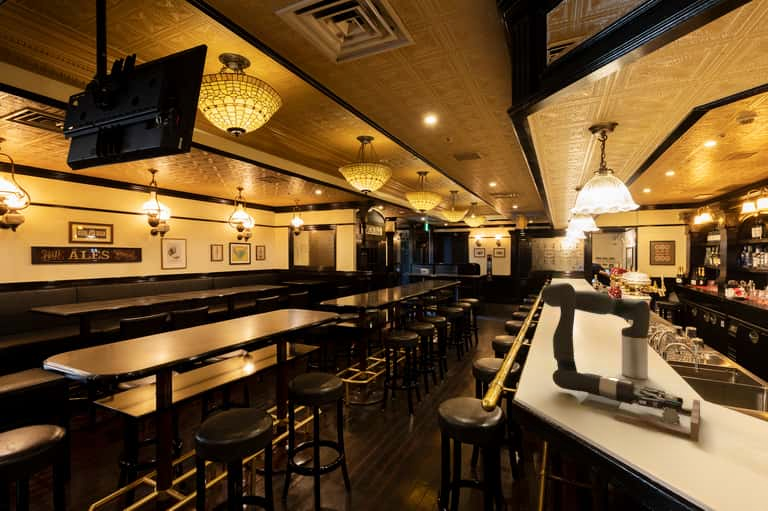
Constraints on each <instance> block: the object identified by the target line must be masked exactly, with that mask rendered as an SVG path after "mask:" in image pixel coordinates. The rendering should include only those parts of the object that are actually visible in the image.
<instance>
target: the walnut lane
mask: <svg viewBox="0 0 768 511" xmlns="http://www.w3.org/2000/svg"><path fill="white" fill-rule="evenodd" d="M634 403H637V404H639V402H638V401H636V400H634ZM691 406H692V407H691V408H692V409H691V408H688V407H687V408H686V407H683V406H682V410H676V411H677V413H678V412H681V413H680V414H682V413H684V415H687V414H689V415H688V416H690V421H689V423H690V424H689V425H690V426H689V427H690V431H688V430H684V429H681V428H676V427H672V426H669V425H665V424H662V423H659V422H654V421H649V420H647V419H644V418H643V419H642V418H639V417H635V416H631V415H628V414H623V413H620V412H616V411H615V414H614V419H615V420H618V421H623V422H625V423H629V424H632V425H633V424H634V425H636V426H637V425H638V426H641V427H644V428H648V429H652V430H655V431H659V432H662V433H665V434H669V435H673V436H676V437H679V438H684V439H687V440H690V441H695V442H699V435H700V434H699V433H700V425H701V424H700V422H701V400H698V399H695V398H694V399H693V400H692V405H691ZM662 408H663V407H662Z"/></svg>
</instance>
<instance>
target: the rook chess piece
mask: <svg viewBox="0 0 768 511" xmlns="http://www.w3.org/2000/svg"><path fill="white" fill-rule="evenodd" d="M670 395H671V396H670ZM676 397H677V396H676V395H673V394H672V393H671V394H670V393H666V396H665V397H664V398H665V399H666V400H671V401H675V402H676V401H677V399H676ZM661 415H662V416H661V418H662V420H663V419H664V420H663V421H664V422H666V421H667V423H669V422H670V423H671V424H674V423H677V424H679V423H681V420H680V416H679V415H678V412H677V411H676V409H672V408H667V407H666V408H665V409H664V411H663V412H662V413H661ZM670 423H669V424H670Z"/></svg>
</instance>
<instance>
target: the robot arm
mask: <svg viewBox="0 0 768 511" xmlns="http://www.w3.org/2000/svg"><path fill="white" fill-rule="evenodd" d="M540 297H541V299H542V301H543V302H544V303H545V304H546V305H547V306H549V307H552V308H560V317H559V320H558V323H557V326H556V328H555V331H554V332H553V337H552V347H553V348H552V350H553V359H555V361H556V364H557V365H556V366H557V369H556V370H555V371H553V373H552V380H553V382H554V384H555V385H556V386H558V388H561V389H563V390H568V391H574V392H582V393H587V394H589V393H590V394H593V395H597V396H601V397H604V398H607V399H611V400H615V401H619V402H621V403H623V404H628V405H633V404H634V403H635V402H634V400H636V401H638V402H639V403H638V406H641V407H646V408H653V409H659V410H663V409H662V407H663V408H666V407H667V408H672V409H676V410H682V407H683V405H684V398H683V397H680V396H676V399H677V401H676V402H675V401H671V400H666V399H665V398H664V397H665V396H666V394H667V393H666V391H664V390H661V389H657V388H653V387H651V386H648V385H645V386H644V387H641V388H640V387H636V385H635V382H634V381H633V380H627V379H623V378H617V377H613V376H605V375H599V374H595V373H588V372H586V373H585V372H584V373H582V372H578V369H577V364H576V361H575V354H574V353H575V349H574V324H575V313H576V310H578V311H581V312H586V313H590V314H596V315H603V316H604V315H612V316H615V317H618V318H621V319H624V320H629V321H632V323H631V326H627V327H623V328H621V374H622V376H626V377H628V378H631V379H638V380H647V379H648V377H649V375H648V374H649V360H648V359H649V349H648V348H649V347H648V346H649V344H648V342H649V341H648V337H649V331H650V323H651V322H650V321H651V308H650V304H649V303H648V302H647V301H646V300H641V299H635V298H618V297H617V298H616V297H612V296H610V295H608V294H607V293H605V292H600V291H595V290H576V289H575V287H574V286H573V285H572V284H570V283H569V282H559V283H552V284H548V285H546V286H545V287H543V289H542V290H541V294H540ZM669 395H670V396H671V394H669Z"/></svg>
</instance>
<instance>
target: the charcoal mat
mask: <svg viewBox="0 0 768 511" xmlns="http://www.w3.org/2000/svg"><path fill="white" fill-rule="evenodd" d="M621 403H622V402H619V401H615V400H611V399H607V398H604V397H601V396H597V395H593V394H590V393H587V395H586V396H585V397H584V398H583V399H582V401H581V402H580V404H581V405H583V406H588V407H590V408H595V409H598V410H602V411H606V412H610V413H613V414H614V413H616V411H617V409H618V408H619V407H620V405H621Z"/></svg>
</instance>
